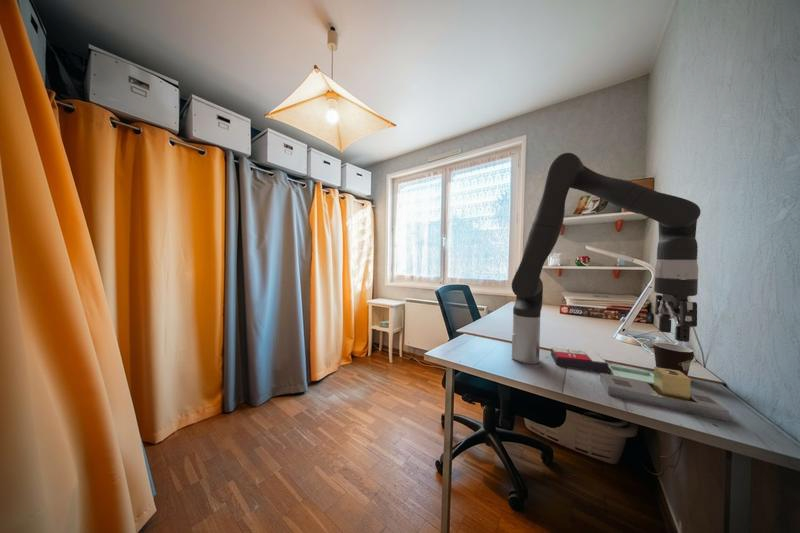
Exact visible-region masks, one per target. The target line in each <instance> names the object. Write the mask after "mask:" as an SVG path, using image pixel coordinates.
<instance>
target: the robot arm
mask: <svg viewBox="0 0 800 533" xmlns="http://www.w3.org/2000/svg"><path fill="white" fill-rule="evenodd" d="M570 189H573V190H578V191H581V192H585V193H587V194H590V195H593V196H594V197H597V198H600V199H601V200H603V201H606V202H608V203H610V204H612V205H615V206H616V207H619V208H621V209H624V210H625V211H628V212H631V213H633V214H636V215H637V214H638V215H642V216H644V217H647V218H648V219H651V220H653V221H654V222H657V223H658V242H657V250H656V262H655V267H654V284H653V285H654V287H653V290H654V291H653V292H654V293H656V295H655V303H654V304H655V307H654V314H655V315H657V318H658V319H659V320H658V331H659V332H661V333H671V332H672V319H674V323H675V337H674V338H675V340H676V341H678V342H684V343H689V342H690V337H691V336H690V335H691V334H690V332H691V331H690V330H691V328H693V327H694V328H696V327H698V302H696V301H689V299H688V298H689V297H694V296H695V297H696V296H697V295H698V289H699V288H698V287H699V284H698V283H699V281H698V280H699V266H698V265H699V264H698V252H699V251H698V250H699V249H698V246H699V245H698V241H697V239H696V235H697V224H698V219H699V217H700V216H701V212H702V211H701V208H700V207H699V205H698V204H696V203H695V202H693V201H691V200H689V199H686V198H683V197H680V196H676V195H672V194H667V193H664V192H660V191H656V190H654V189H652V188H649V187H647V186H644V185H641V184H639V183H636V182H633V181H629V180H626V179H622V178H621V179H620V178H616V177H610V176H606V175H603V174H601V173H598V172H596V171H593V170H592V169H591V168H589V167H587V166H586V165H584V163H583V161H582V160H581V159H580V158H579V156H578V155H576V154H575V153H572V152H563V153H561V154H560V155H559V154H558V156H556V157H555V158H554V159H553V160H552V162H550V165H549V166H548V169H547V173H546V177H545V182H544V188H543V191H542V195H541V198H540V201H539V204H538V206H537V209H536V212H535V215H534V218H533V221H532V224H531V227H530V230H529V233H528V235H527V236H528V237H527V240H526V242H525V247H524V250H523V255H522V258H521V261H520V264H519V265H518V268H517V270H516V272H515V274H514V276H513V279H512V281H511V291H512V292H513V294H514V295H515V297H516V298H515V303H514V305H513V310H512V311H513V312H512V313H513V314H512V335H511V337H512V338H511V340H512V341H511V359H512V360H515V361H517V362H520V363H524V364H530V365H533V364H534V365H535V364H539V363H540V344H541V343H540V342H541V315H542V314H541V312H542V307H543V295H544V294H543V293H544V284H543V281H542V278H541V274H542V271H543V267H544V264H545V262H546V261H547V259H548V258H549V256H550V254H551V253H552V251H553V249H554V248H555V246H556V244H557V242H558V239H559V237H560V234H561V231H562V228H563V224H564V220H565V219H564V218H565V211H566V201H567V200H566V199H567V196H568V193H569V190H570Z"/></svg>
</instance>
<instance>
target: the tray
mask: <svg viewBox="0 0 800 533" xmlns="http://www.w3.org/2000/svg"><path fill="white" fill-rule="evenodd" d="M608 373H609V375H614V376H619V377H625V378H630V379H635V380H641V381H646V382H651V383H654V372H652V371H648V370H644V369H643V370H642V369H636V368H630V367H624V366H618V365H613V364H608Z"/></svg>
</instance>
